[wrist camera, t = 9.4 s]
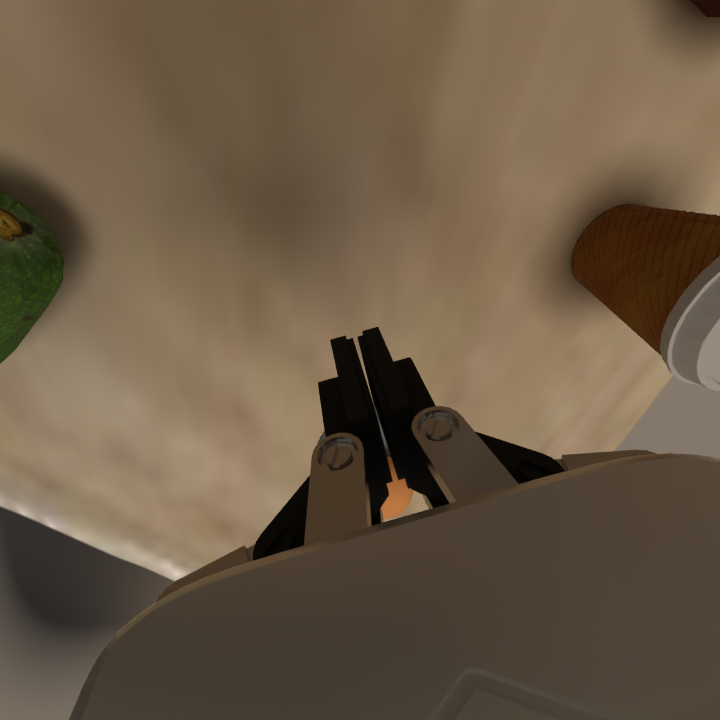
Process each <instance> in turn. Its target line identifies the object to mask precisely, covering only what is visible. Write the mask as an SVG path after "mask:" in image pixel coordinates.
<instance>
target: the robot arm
mask: <svg viewBox="0 0 720 720" xmlns="http://www.w3.org/2000/svg"><path fill="white" fill-rule="evenodd" d="M330 341H331V346H332V350H333V355H334V360H335V364H336V369H337V373H338V377H336V378H332V379H328V380H325V381H321V382H318V387H319V394H320V401H321V408H322V415H323V422H324V429H325V436H326V438H324V439H323V440H322V441H320V442H319V443H318V444H317V446H316V447H315V449H314V450H313V454H312V460H311V471H310V476H309V477H308V478H307V479H306V481H305V482H304V483H303V484H302V485H301V487H300V488H299V489H298V490H297V491H296V493H295V494H294V495H293V496H292V497H291V499H290V500H289V501H288V502H287V503H286V505H285V506H284V507H283V508H282V509H281V511H280V512H279V513H278V514H277V516H276V517H275V518H274V519H273V520H272V522H271V523H270V524H269V525H268V526H267V528H266V529H265V530H264V531H263V532H262V534H261V535H260V537H259V538H258V540H257V541H256V544H255V545H253V546H251V547H249V548H246V547H245V545H244V546H242V547H240V548H238V549H237V550H235V551H233V552H231V553H229V554H227V555H225V556H223V557H221V558H219V559H217V560H215V561H213V562H212V563H210V564H208V565H206V566H204V567H202V568H200V569H198V570H196V571H194V572H192V573H190V574H188V575H187V576H185V577H183V578H181V579H179V580H177V581H175V582H174V583H172V584H171V585H170V586H168V587H167V588H166V589H165V590H164V591H163V592H162V594H161V595H160V596H159V597H158V599H157V601H156V603H155V604H153V605H152V606H150V607H149V608H148V609H146V610H144V611H143V612H142V613H140V614H139V615H137V616H136V617H135V618H134V619H133V620H131V621H130V622H129V623H128V624H127V625H125V626H124V627H123V628H122V629H121V630H120V631H119V632H118V633H117V634H116V635H115V636H114V637H113V638H112V639H111V640H110V642H109V643H108V644H107V645H106V646H105V648H104V649H103V651H102V652H101V654H100V655H99V657H98V658H97V660H96V662H95V664H94V665H93V667H92V669H91V671H90V672H89V675H88V677H87V679H86V681H85V683H84V685H83V687H82V689H81V692H80V694H79V697H78V700H77V701H76V704H75V706H74V709H73V711H72V714H71V716H70V718H69V720H720V459H719V458H714V457H709V456H701V455H690V454H672V453H669V454H656V453H653V452H650V451H647V450H626V451H611V452H597V453H583V454H569V455H562V458H561V459H555V460H554V459H553V458H551V457H549V456H547V455H545V454H542V453H539V452H536V451H533V450H530V449H527V448H524V447H521V446H518V445H515V444H512V443H509V442H506V441H502V440H499V439H496V438H493V437H490V436H487V435H484V434H481V433H478V432H475V431H474V430H473V429H472V428H471V426H470V425H469V424H468V423H467V422H466V421H465V419H464V418H463V417H462V416H461V415H460V414H459V413H458V412H457V411H455V410H453V409H451V408H448V407H443V406H435V404H434V402H433V400H432V398H431V396H430V394H429V392H428V390H427V388H426V386H425V384H424V382H423V380H422V379H421V377H420V375H419V373H418V371H417V369H416V367H415V365H414V363H413V361H412V359H411V358H410V357H409V358H405V359H401V360H398V361H394V362H393V360H392V358H391V355H390V353H389V351H388V348H387V346H386V344H385V342H384V339H383V337H382V335H381V332H380V330H379V328H378V327H376V328H372V329H368V330H365V331H363V335H362V336H359V337H358V341H359V345H360V349H361V353H362V358H363V362H364V366H365V370H366V374H367V378H368V382H369V386H370V390H371V394H372V398H373V401H372V398H371V395H370V392H369V388H368V385H367V382H366V379H365V376H364V372H363V369H362V366H361V363H360V360H359V357H358V353H357V350H356V347H355V344H354V341H353V338H351V339H346V336H342V337H339V338H335V339H331V340H330ZM373 402H374V404H373ZM374 405H375V408H376V411H377V415H378V418H379V421H380V424H381V427H382V430H383V434H384V437H385V440H386V443H387V446H388V449H389V453H390V456H391V459H392V462H393V465H394V468H395V472H396V475H397V478H398V480H401V479H405V481H406V484H407V487H408V489H409V488H410V489H412V490H414V491H416V492H419V493H421V494H423V497H424V500H425V503H426V504H427V506H428V508H429V510H425V511H422V512H418V513H415V514H411V515H408V516H404V517H401V518H397V519H394V520H390V521H387V522H383V513H382V509H381V507H382V505H383V504H384V502H385V501H386V499H387V498H388V496H389V491H388V487H387V483H391V482H393V480H392V476H391V471H390V467H389V463H388V459H387V455H386V451H385V447H384V443H383V439H382V434H381V430H380V426H379V422H378V418H377V415H376V411H375V408H374Z"/></svg>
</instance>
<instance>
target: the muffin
mask: <svg viewBox="0 0 720 720" xmlns="http://www.w3.org/2000/svg"><path fill="white" fill-rule="evenodd" d="M690 1H692V2H693V3H694V4H695V5H696V6H697V7H698V8H699V9H700V10H701V11H702V12H703V13H704V14H705V15H706V16H707V17H720V0H690Z"/></svg>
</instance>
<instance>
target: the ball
mask: <svg viewBox="0 0 720 720" xmlns="http://www.w3.org/2000/svg"><path fill="white" fill-rule="evenodd" d="M387 459H388V463H389V467H390V471H391V476H392V480H393V482H391V483H387V487H388V491H389V496H388V498H387V499H386V501H385V502H384V504H383V505H382V507H381V509H382V513H383V519H386V518H392V517H395V516H397V515H399V514H400V513H402V512H403V511H404V510H405V509H406V508H407V506H408V505H409V503H410V501H411V498H412V495H413V490H412V489H410V488H409V489H408V487H407V484H406V481H405V479H401V480H398V478H397V475H396V472H395V468H394V465H393V462H392V459H391V457H387Z"/></svg>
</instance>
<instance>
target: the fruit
mask: <svg viewBox="0 0 720 720" xmlns="http://www.w3.org/2000/svg"><path fill="white" fill-rule="evenodd" d="M63 264H64V259H63V256H62V254H61V251H60V248H59V246H58V243H57V241H56V238H55V236H54V234H53V233H52V231H51V230H50V228H49V227H48V226H47V225H46V224H45V222H44V221H43V220H42V219H41V218H40V217H39V216H38V215H37V214H36V213H35V211H34V210H33V209H31V208H29V207H27V206H25V205H24V204H22V203H20V202H18V201H16V200H14V199H13V198H11V197H9V196H7V195H5V194H3V193H1V192H0V363H2V362H3V361H4V360H5V359H6V358H7V357H8V356H9V355H10V354H11V353H12V352H13V351H14V350H15V349H16V348H17V347H18V345H19V344H20V343H21V341H22V340H23V339H24V337H25V336H26V335H27V333H28V332H29V330H30V329H31V328H32V326H33V325H34V324H35V322H36V321H37V320H38V319H39V317H40V316H41V315H42V313H43V312H44V311H45V309H46V308H47V306H48V305H49V303H50V302H51V300H52V299H53V297H54V296H55V294H56V293H57V291H58V289H59V287H60V284H61V282H62V280H63Z"/></svg>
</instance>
